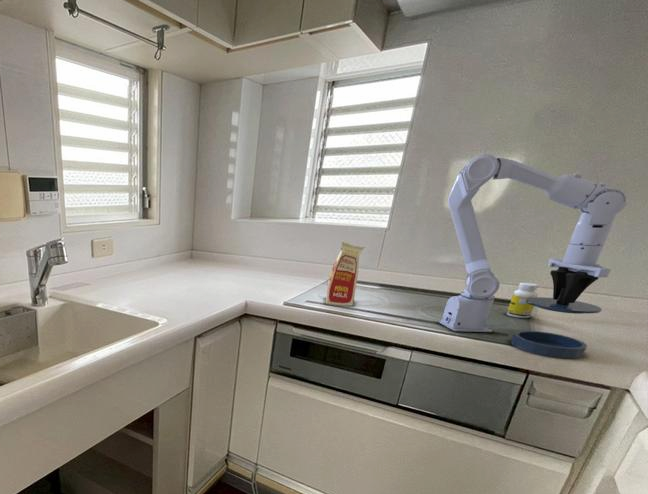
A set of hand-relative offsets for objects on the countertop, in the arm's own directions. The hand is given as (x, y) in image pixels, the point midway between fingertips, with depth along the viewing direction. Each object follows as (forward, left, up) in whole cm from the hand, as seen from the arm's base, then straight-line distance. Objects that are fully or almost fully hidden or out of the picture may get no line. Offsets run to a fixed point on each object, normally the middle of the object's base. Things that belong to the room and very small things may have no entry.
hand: (563, 301), depth 99 cm
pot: (-6, -8, -10) cm, 14 cm away
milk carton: (-41, +33, -10) cm, 54 cm away
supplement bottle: (+7, +21, -10) cm, 25 cm away
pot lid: (0, 0, -1) cm, 1 cm away
